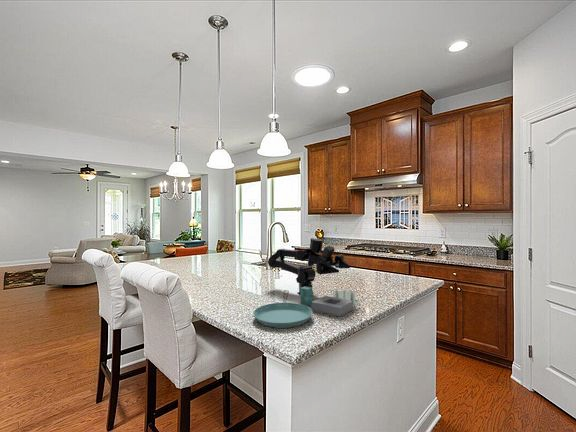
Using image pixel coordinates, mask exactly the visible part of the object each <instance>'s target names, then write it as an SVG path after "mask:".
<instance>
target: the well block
mask: <svg viewBox="0 0 576 432" xmlns="http://www.w3.org/2000/svg"><path fill="white" fill-rule="evenodd" d="M311 310H312V312H314V313H321V314H324V315H328V316H332V317H333V316H334V317H337V318H341V317H343V316H344V315H346V314H348V313H350V312H352V311H353V310H354V305H353V301H351V300H346V299H340V298H335V297H332V296H328V295H324V296H322V297H320V298H317V299H315V300H312V305H311Z"/></svg>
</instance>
